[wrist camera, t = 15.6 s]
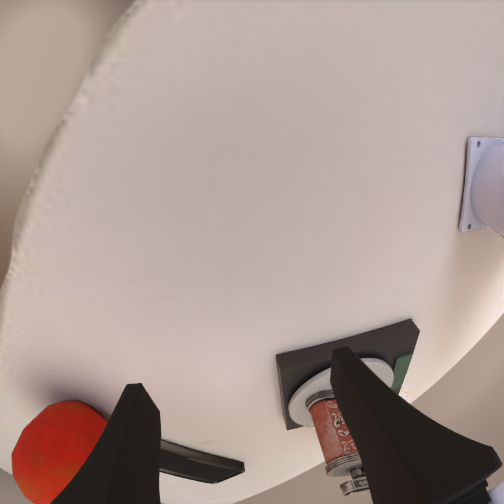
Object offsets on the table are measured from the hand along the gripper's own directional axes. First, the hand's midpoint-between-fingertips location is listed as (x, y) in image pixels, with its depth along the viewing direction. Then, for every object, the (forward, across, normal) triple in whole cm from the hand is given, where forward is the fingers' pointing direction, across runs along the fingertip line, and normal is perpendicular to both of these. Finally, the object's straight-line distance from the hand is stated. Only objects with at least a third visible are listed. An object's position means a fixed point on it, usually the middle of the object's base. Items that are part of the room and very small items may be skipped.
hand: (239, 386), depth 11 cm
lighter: (+8, -8, +16) cm, 20 cm away
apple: (+11, +19, +16) cm, 27 cm away
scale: (+10, -9, +16) cm, 21 cm away
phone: (+10, +11, +30) cm, 34 cm away
